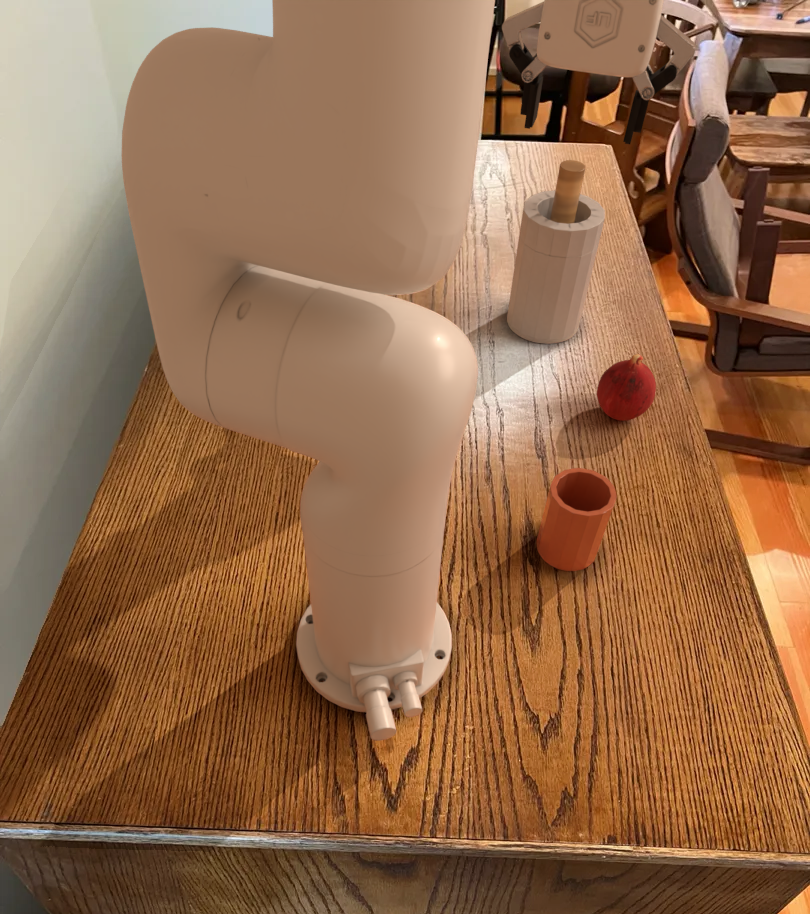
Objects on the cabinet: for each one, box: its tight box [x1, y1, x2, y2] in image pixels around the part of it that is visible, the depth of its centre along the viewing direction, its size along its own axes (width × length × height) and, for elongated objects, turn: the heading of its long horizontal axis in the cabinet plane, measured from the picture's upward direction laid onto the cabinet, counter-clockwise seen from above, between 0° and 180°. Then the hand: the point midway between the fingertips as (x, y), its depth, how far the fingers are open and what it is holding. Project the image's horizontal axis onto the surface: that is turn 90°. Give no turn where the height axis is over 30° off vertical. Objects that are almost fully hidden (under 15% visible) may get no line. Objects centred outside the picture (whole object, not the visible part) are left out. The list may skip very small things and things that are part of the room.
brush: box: [550, 159, 586, 224], centre depth 85 cm, size 4×4×18 cm
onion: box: [596, 353, 657, 422], centre depth 79 cm, size 6×6×8 cm
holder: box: [535, 467, 618, 572], centre depth 67 cm, size 5×6×8 cm
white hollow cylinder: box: [506, 189, 606, 345], centre depth 87 cm, size 9×9×14 cm
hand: (578, 130), depth 75 cm, fingers open, 9 cm apart
